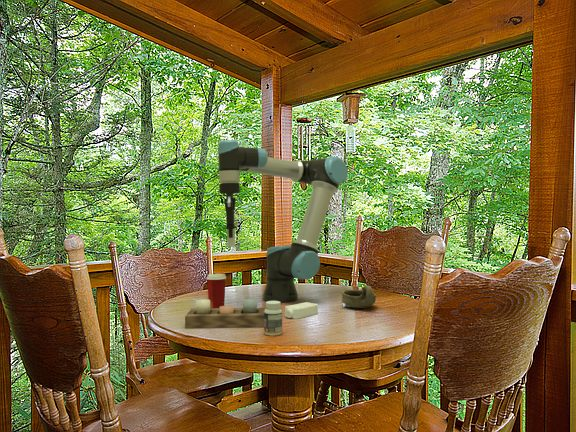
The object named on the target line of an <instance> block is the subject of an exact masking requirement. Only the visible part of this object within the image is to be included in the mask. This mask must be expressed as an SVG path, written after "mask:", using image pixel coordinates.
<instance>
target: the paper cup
mask: <svg viewBox="0 0 576 432" xmlns="http://www.w3.org/2000/svg"><path fill="white" fill-rule="evenodd" d="M205 279H206V281H207V283H206V285H207V295H208V297H207V299H209V300H210V308H220V306H225V303H226V302H225V297H226V279H227V276H226V274H225V273H210V274H207V277H206V278H205Z"/></svg>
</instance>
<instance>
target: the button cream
mask: <svg viewBox="0 0 576 432" xmlns="http://www.w3.org/2000/svg"><path fill="white" fill-rule="evenodd" d="M195 309H196V314H210V300H209V299H208V298H202V299H195Z"/></svg>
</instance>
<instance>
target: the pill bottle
mask: <svg viewBox="0 0 576 432" xmlns="http://www.w3.org/2000/svg"><path fill="white" fill-rule="evenodd" d="M281 303H282V302H279V301H266V302H265V307H266V308H265V310H264V327H263V333H264V334H265V335H266V336H271V337H272V336H273V337H274V336H279V335H282V333H283V310H282V308H281V306H282V305H281Z"/></svg>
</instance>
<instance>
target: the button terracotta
mask: <svg viewBox="0 0 576 432" xmlns="http://www.w3.org/2000/svg"><path fill="white" fill-rule="evenodd" d="M234 308H235V307H234V305H224V306H220V314H234Z"/></svg>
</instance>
